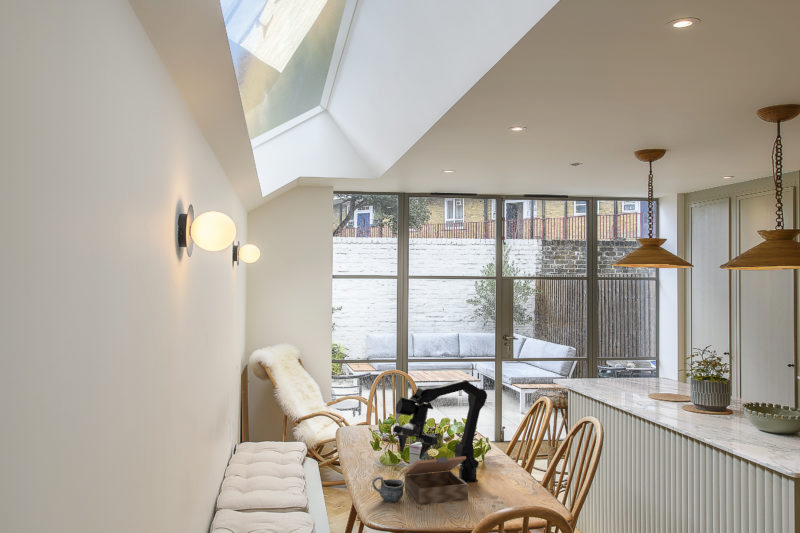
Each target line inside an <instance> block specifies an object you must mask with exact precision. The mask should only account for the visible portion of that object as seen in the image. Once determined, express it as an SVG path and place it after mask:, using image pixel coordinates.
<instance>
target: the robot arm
mask: <svg viewBox="0 0 800 533" xmlns="http://www.w3.org/2000/svg"><path fill="white" fill-rule="evenodd" d="M460 391H463V392H464V393H466V394H467V403H468V411H467V416H466V421H465V425H464V429H463V432H462V433H463V434H462V437H461V440H460V442H459V443H457V442H456V443H455V447H454V450H453V453H454V457H462V456H466V459H465V460H464V461H463V462H461V463H460V464H459V469H458V477H459V478H460V479H462V480H463V481H464V482H466V483H467V484H468V483H474V482H475V483H476V482H479V479H478V478H477V469H478V468H479V463H480V462H479V461H478V460H477V459H476V458H475V456H474V455H475V454H474V453H475V448H474V438H475V434H476V429H477V425H478V420H479V417H480V411H481V410H482V408H483V407H484V406H485V404H486V402H487V399H488V393H487V391H486V390H485V389H483V388H481V387H477V386H476V385H474V384H472V383H470V382H469V381H468V380H466V379H463V378H460V379H459V380H455V381H450V382H447V383H443V384H440V385H435V386H434V385H433V386H420V387H418V388H417V389H416V391H415V392H414V394H413V395H412V396H411V397H410V398H406V397H402V396H400V398H399V400H397V403H396V405H395V412H396V414H398V415H403V416H409V417H411V416H412V417H411V418H409V422H408V423H406V424H404V425H399V424H397V425H394V427H393V431H392V432H394V434H395V435H396V436H397V437H398V440H399V451H400V453H403V452H404V449H405V445H406V442H407V439H408V437H415V438H418V439H420V440H422V442H421V443H422V448H421V452H420V457H419V459H421V458H422V457H423V455H424V454H425V453H426V451H427V452H428V450H429V449H430V448H431V446H434V445H438V440H439V438H438V437H437V436H435V435H432V434H425V431H424V430H425V425H427V423H428V421H427V416H428V411H429V409H430V410H433V409H434V407H433V405H432V403H431V402H433V401H435V400H436V399H438V398H439V397H441V396H445V395H449V394H453V393H457V392H460Z"/></svg>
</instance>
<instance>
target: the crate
mask: <svg viewBox="0 0 800 533" xmlns="http://www.w3.org/2000/svg"><path fill="white" fill-rule="evenodd" d="M404 491H405V492H406V493H407V494H408V495H409V497H410V498H412V500H414V501H415V502H416V504H418V505H419V506H427V505H435V504H436V503H437V504H446V503H453V502H461V501H469V484H468V482H467V483H466V482H464V481H463V480H462V479H460V478H459V475H457V474H455V473H454V472H452V470H451V471H442V472H432V473H425V474H415V475H404ZM445 502H446V503H445Z"/></svg>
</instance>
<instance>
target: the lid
mask: <svg viewBox="0 0 800 533" xmlns="http://www.w3.org/2000/svg"><path fill="white" fill-rule="evenodd" d="M465 459H466V456H462V457H455V456H453V457H447V456H444V457H443V456H442V457H437V458H433V459H432V458H431V459H427V460H419V461H416V462H415V463H414V464H413V465H412V466H411V467H410V466H409V467H408V468H407V469H406V470H405V471H404V472H403V475H404V476H405V475H412V474H422V473H434V472H444V471H451V472H452V470H453V469H455V468H456V467H458V466H460V465H461V464H460V463H461V462H463V461H464V460H465Z"/></svg>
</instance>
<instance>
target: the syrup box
mask: <svg viewBox="0 0 800 533" xmlns="http://www.w3.org/2000/svg"><path fill="white" fill-rule="evenodd" d="M421 448H422V442H420V441H416V442H415V443H411V444H409V448H408V449H409V468H410V467H411V466H412V465H413V464H414V463H415V462H416V461H419V460H428V450H427V451H426V453H425V454H424V455H423V457H422V458H421V459H419V457H420V452H421ZM422 474H425V473H422ZM412 475H415V474H412Z"/></svg>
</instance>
